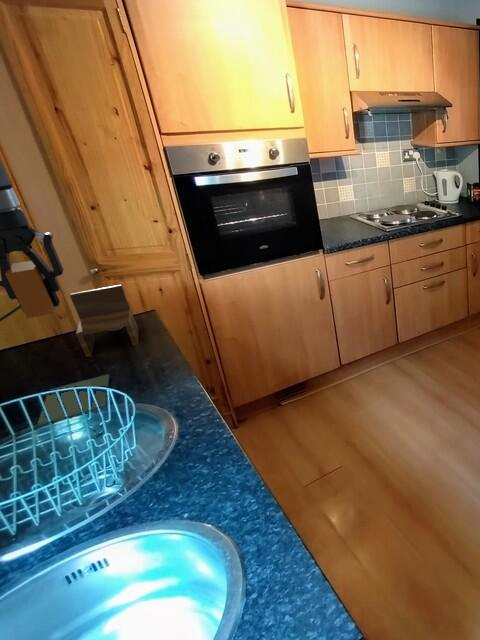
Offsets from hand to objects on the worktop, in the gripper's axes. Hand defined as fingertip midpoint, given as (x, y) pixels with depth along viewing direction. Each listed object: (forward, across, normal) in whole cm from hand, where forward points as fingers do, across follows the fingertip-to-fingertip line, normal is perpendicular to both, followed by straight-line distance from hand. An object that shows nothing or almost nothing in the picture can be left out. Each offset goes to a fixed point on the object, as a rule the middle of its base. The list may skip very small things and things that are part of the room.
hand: (42, 307), depth 106 cm
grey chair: (+24, +5, +27) cm, 37 cm away
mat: (+24, -1, -3) cm, 25 cm away
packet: (+1, 0, 0) cm, 1 cm away
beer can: (+25, +6, +38) cm, 46 cm away
